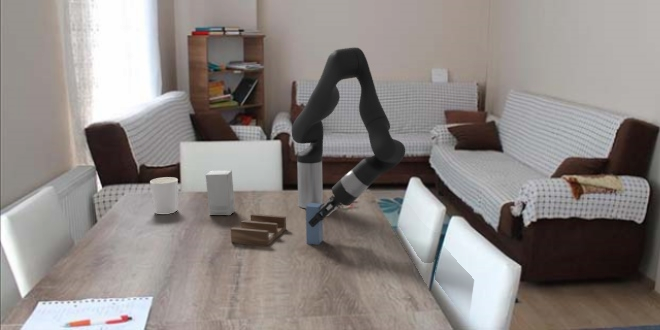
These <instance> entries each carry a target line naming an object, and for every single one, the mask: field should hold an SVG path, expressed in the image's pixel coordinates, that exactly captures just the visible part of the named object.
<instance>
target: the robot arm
mask: <svg viewBox="0 0 660 330" xmlns="http://www.w3.org/2000/svg"><path fill="white" fill-rule="evenodd" d="M324 64H325V65H324V67H323V70H322V73H321V75H320V78H319V79H318V82H317V84H316V86H315V88H314V89H313V91H312V92H311V95H310V97H309V98H308V100H307V103H306V104H305V106H304V107H303V109H302V111H301V112H300V113H299V114H298V116H297V117H295V118H296V119H295V120H294V122H293V124H292V127H291V137H292V139H293V141H294V142H295V143H297V144H303V145H304V144H309V146H307V148H305V149H304V150H302V151H299V152H298V153H297V156H296V157H297V158H296V160H297V161H296V162H297V163H296V165H297V202H298V203H297V205H298V206H297V207H298V208H303V209H306V206H307V205H308V204H309V203H320V204H322V207H321V208H320V209H321V210H320V211H319V212H317V213H316V215H315V216H314V217H313V218H312V219H311V220H310V221H309V222H308V223H309V224H310V225H311V227H314V226H315V225H316V224H317V223H318V222H320V221H321V220H323V221H324V219H325V218H326V217H328V216H330V215H331V214H332V213H333V212H334V211H336V210H338V208H339V207H340V206H342V205H343V206H345V207H348V206H350V205H352V203H354V201H356V200H357V199H358V198H359V197H361V196H362V194H363V193H364V192H365V191H366V190H367V189H368V188H369V187H370V186H371V185H372V184H373V183H374V182H375V181H376V180H377V179H378V178H379V177H380V176H381V175H383V174H385V173H387V172H388V171H390V170H392V169H393V168H395V167H396V166H397V165H399V164H400V162H402V160H403V159H404V158H405V155H406V147H405V145H404V143H403V142H402V141H400V140H397V139H394V138H393V137H392V136H391V134H390V129H391V124H390V123H391V122H390V121H389V118H388V117H387V114H386V112H385V110H384V108H383V106H382V104H381V101H380V99H379V96H378V93H377V90H376V86H375V83H374V79H373V75H372V72H371V69H370V66H369V63H368V59H367V57H366V55H365V53H364V52H363V50H362V49H361V48H359V47H345V48H338V49H335V50H333V51H331V53H330V54H329V55H328V57H327V60H326V62H325V63H324ZM354 78H355V79H357V81H358V83H359V85H360V98H359V102H358V103H359V104H358V111H359V115H360V116H359V117H360V119H361V121H362V122H363V123H362V124H363V125H364V128H365V129H366V131H367V133H368V139H369V143H370V147H371V148H370V149H371V151H372V154H373V155H372V156H369V157H365V158H363V159H362V160H360V161H359V162H358V163H357V164H356V165H355V166H354V167H353V168H352V169H351V170H349V171H348V172H347V173H345V174H344V176H342V177H341V179H340V180H338V181H337V182H336V183H335V184H334V185H333V186H332V187H331V193H332V195H331V196H330V197H329V198H327V199H326V201H325V203H323V199H324V197H323V155H324V154H323V153H324V123H323V122H322V120H325V119H326V118H328V117H329V116H330V115H331V114H333V112H334V111H335V109H336V107H337V105H338V104H339V102H340V91H339V89H338V87H337V86H338V85H337V84H338V83H339V82H340V81H342V80H348V79H354ZM320 212H322V215H321V214H320Z"/></svg>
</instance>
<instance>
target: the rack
mask: <svg viewBox="0 0 660 330" xmlns="http://www.w3.org/2000/svg"><path fill="white" fill-rule="evenodd" d="M286 230H287V216H285V215H283V216H282V215H273V214H259V213H251V214H250V220H243V219H242V220H241V222H240V227H232V228H230V242H236V243H235V244H240V243H243V245H250V244H252V245H251V246H260V245H261V246H262V247H268V246H269V245H270V244H272V242H274V241H275V240H276V239H277V238H278V237H279V236H280V235H281V234H282V233H284V232H285V231H286Z"/></svg>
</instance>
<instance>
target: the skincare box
mask: <svg viewBox="0 0 660 330" xmlns="http://www.w3.org/2000/svg"><path fill="white" fill-rule="evenodd" d="M205 182H206V191H207V192H206V194H207V205H208V214H210V215H231V214H232V213H235V211H236V209H235V194H234V192H235V191H234V182H233V171H232V170H210V171H209V172H208V173H206V174H205ZM231 216H232V215H231Z"/></svg>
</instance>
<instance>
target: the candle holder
mask: <svg viewBox="0 0 660 330" xmlns="http://www.w3.org/2000/svg"><path fill="white" fill-rule="evenodd" d="M178 181H179V179H178V178H177V177H173V176H172V177H171V176H169V177H168V176H165V177H157V178H153V179H151V180H150V181H149V184H150V185H149V186H150V190H151V198H152V204H153V211H155V212H157V213H170V212H175V211H177V210H178V211H179V196H178V195H179V191H178V190H179V187H178V185H179V184H178V183H179V182H178ZM178 211H177V212H178ZM155 212H154V213H155Z"/></svg>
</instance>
